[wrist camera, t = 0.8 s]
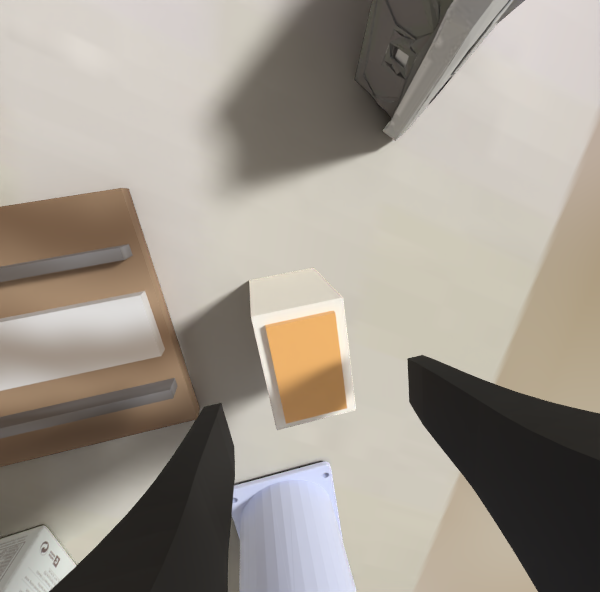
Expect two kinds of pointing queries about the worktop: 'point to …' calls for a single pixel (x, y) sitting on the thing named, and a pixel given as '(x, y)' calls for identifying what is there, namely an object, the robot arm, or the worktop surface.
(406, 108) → the electrical switch
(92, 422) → the mounting board
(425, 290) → the worktop surface
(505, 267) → the worktop surface
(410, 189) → the worktop surface
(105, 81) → the worktop surface
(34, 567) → the supplement box
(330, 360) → the rail module
